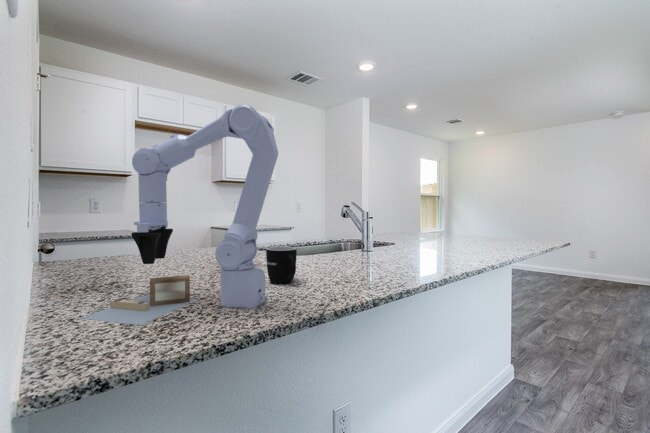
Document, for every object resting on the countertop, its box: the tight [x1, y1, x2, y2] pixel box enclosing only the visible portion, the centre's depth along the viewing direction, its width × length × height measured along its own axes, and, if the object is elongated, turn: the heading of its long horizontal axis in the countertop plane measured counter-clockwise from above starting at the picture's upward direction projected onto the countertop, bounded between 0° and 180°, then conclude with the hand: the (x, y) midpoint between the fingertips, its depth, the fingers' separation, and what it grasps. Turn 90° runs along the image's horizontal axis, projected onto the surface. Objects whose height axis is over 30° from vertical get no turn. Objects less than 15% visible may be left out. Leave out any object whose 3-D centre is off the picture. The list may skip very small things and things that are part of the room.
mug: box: [265, 246, 298, 285], centre depth 99 cm, size 12×9×10 cm
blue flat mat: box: [79, 294, 198, 326], centre depth 71 cm, size 14×17×3 cm
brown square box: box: [149, 274, 191, 306], centre depth 76 cm, size 8×3×6 cm, turn 116°
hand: (154, 261), depth 78 cm, fingers open, 7 cm apart
